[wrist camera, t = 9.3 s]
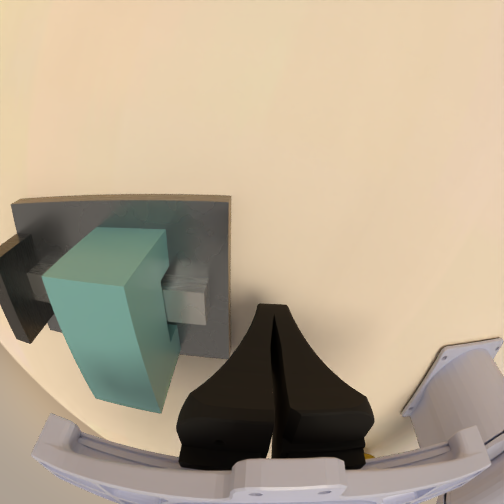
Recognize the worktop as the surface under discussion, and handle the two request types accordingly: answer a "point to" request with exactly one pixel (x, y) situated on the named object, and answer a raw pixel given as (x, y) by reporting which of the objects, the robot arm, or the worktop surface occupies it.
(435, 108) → the worktop surface
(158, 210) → the rail base
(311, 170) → the worktop surface
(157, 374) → the block
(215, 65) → the worktop surface
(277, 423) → the robot arm
